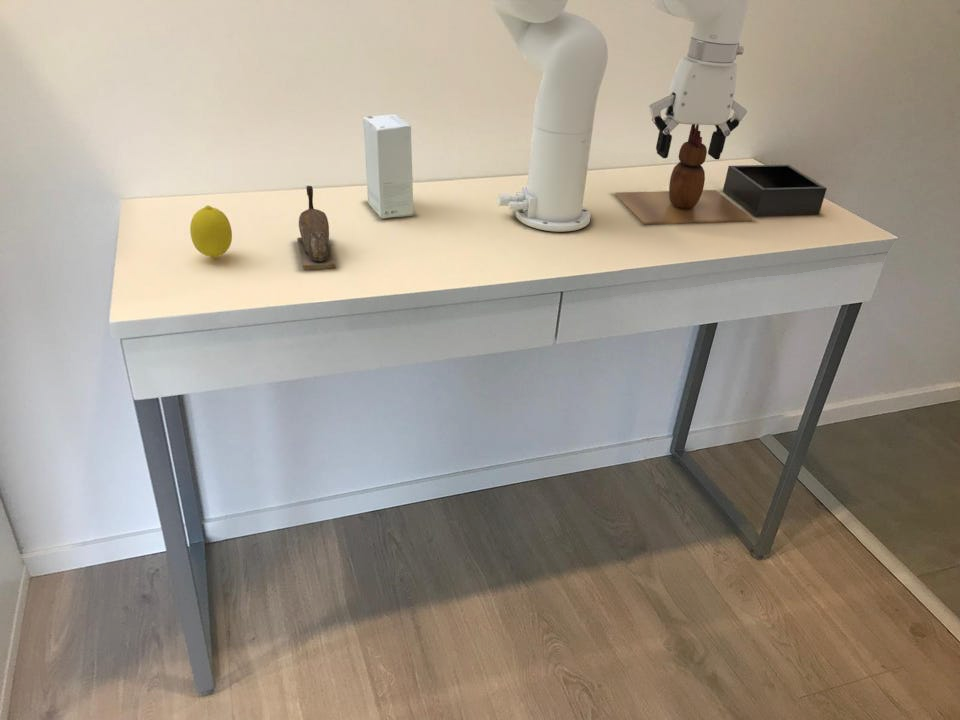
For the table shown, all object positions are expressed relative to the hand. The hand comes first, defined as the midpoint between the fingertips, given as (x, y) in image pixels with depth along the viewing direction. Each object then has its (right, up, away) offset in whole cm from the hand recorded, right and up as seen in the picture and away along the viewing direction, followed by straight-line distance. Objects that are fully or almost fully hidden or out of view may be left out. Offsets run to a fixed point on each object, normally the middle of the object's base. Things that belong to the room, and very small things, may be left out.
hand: (687, 156), depth 137 cm
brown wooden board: (0, -8, +5) cm, 9 cm away
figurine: (-61, -19, -18) cm, 66 cm away
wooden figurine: (0, -8, +5) cm, 9 cm away
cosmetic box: (-51, -10, -3) cm, 52 cm away
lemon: (-74, -21, -22) cm, 80 cm away
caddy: (+18, -6, +10) cm, 21 cm away
